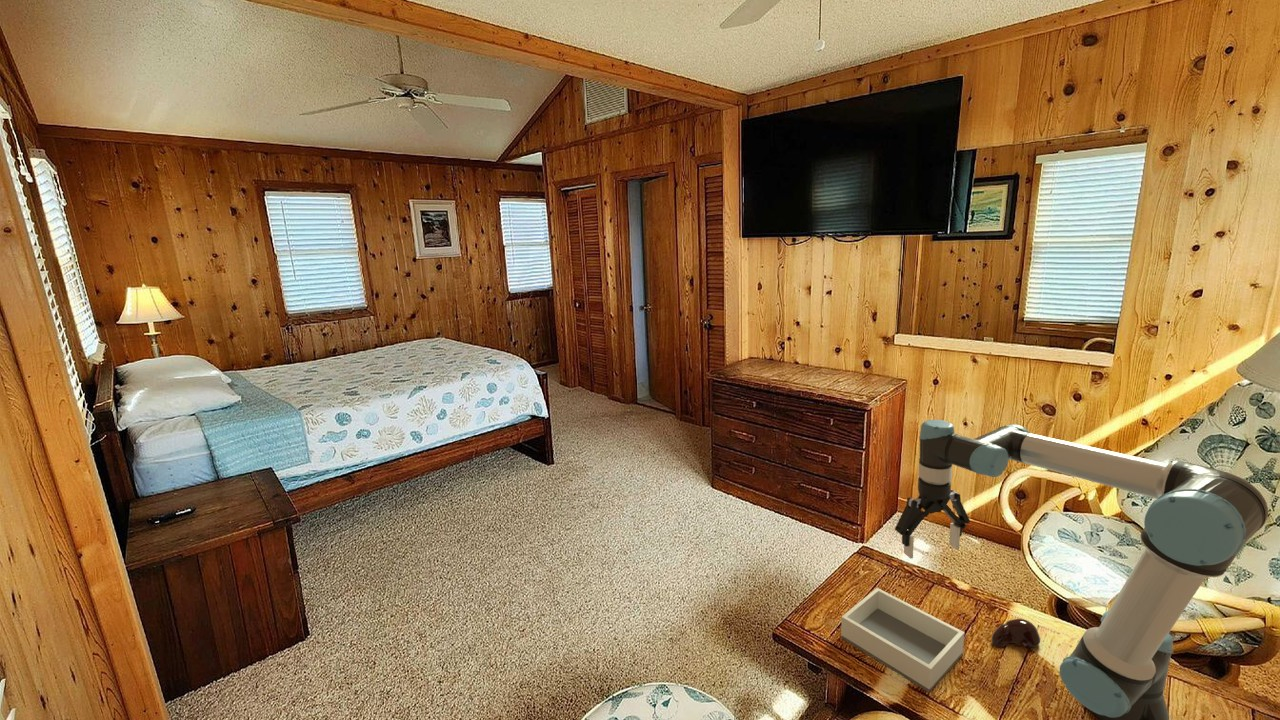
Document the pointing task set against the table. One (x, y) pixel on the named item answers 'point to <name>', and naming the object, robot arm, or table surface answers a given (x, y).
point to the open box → (903, 638)
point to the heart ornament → (1016, 634)
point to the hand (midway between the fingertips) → (931, 551)
